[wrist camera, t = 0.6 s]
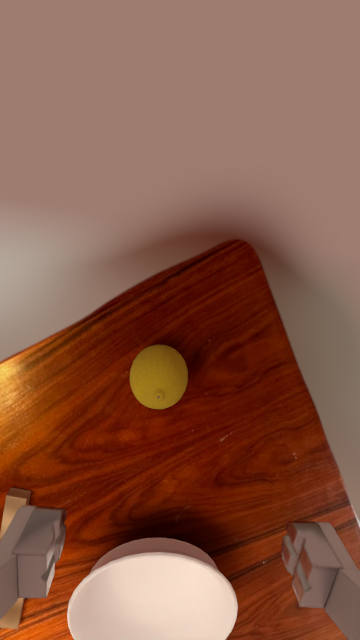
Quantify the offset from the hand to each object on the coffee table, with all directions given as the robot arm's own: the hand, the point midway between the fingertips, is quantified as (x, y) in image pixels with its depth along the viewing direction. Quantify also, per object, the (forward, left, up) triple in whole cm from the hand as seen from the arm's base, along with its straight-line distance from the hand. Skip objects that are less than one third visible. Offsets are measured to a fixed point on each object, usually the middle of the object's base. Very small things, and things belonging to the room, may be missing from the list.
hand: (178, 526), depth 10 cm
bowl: (+32, +7, -21) cm, 39 cm away
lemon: (+3, 0, -21) cm, 21 cm away
